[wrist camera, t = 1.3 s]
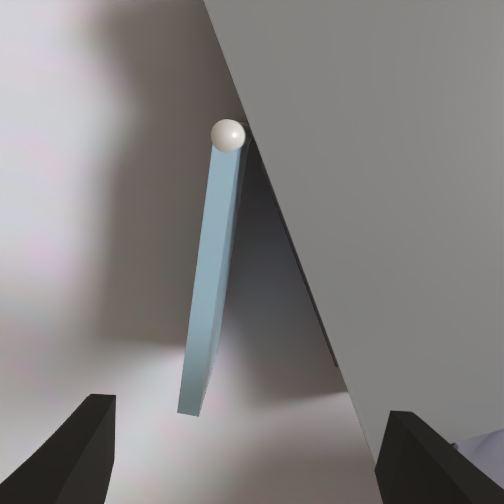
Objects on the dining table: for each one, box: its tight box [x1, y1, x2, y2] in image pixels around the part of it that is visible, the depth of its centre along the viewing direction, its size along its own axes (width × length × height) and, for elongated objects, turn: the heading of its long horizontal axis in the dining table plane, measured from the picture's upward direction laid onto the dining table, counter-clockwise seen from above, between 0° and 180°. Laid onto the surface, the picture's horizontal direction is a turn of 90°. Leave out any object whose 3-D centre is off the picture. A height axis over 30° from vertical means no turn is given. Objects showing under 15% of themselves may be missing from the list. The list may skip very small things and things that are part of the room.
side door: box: [177, 119, 253, 416], centre depth 18 cm, size 10×1×5 cm, turn 171°
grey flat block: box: [203, 0, 504, 464], centre depth 17 cm, size 20×10×5 cm, turn 21°
